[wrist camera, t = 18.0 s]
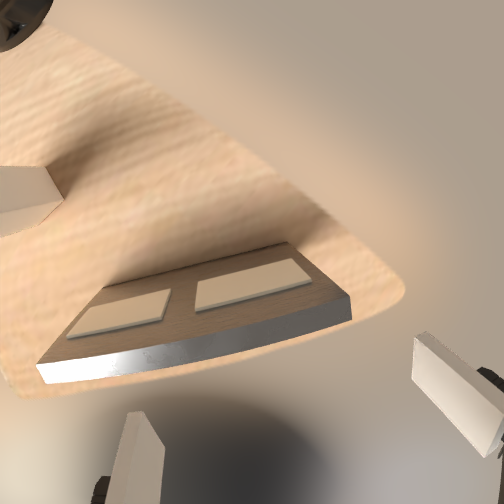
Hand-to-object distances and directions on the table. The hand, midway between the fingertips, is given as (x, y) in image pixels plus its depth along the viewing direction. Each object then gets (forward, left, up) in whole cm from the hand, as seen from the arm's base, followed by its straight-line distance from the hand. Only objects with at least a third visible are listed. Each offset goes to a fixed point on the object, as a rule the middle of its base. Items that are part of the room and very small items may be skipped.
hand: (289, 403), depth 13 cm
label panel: (+6, -4, -29) cm, 30 cm away
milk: (0, -29, -29) cm, 41 cm away
